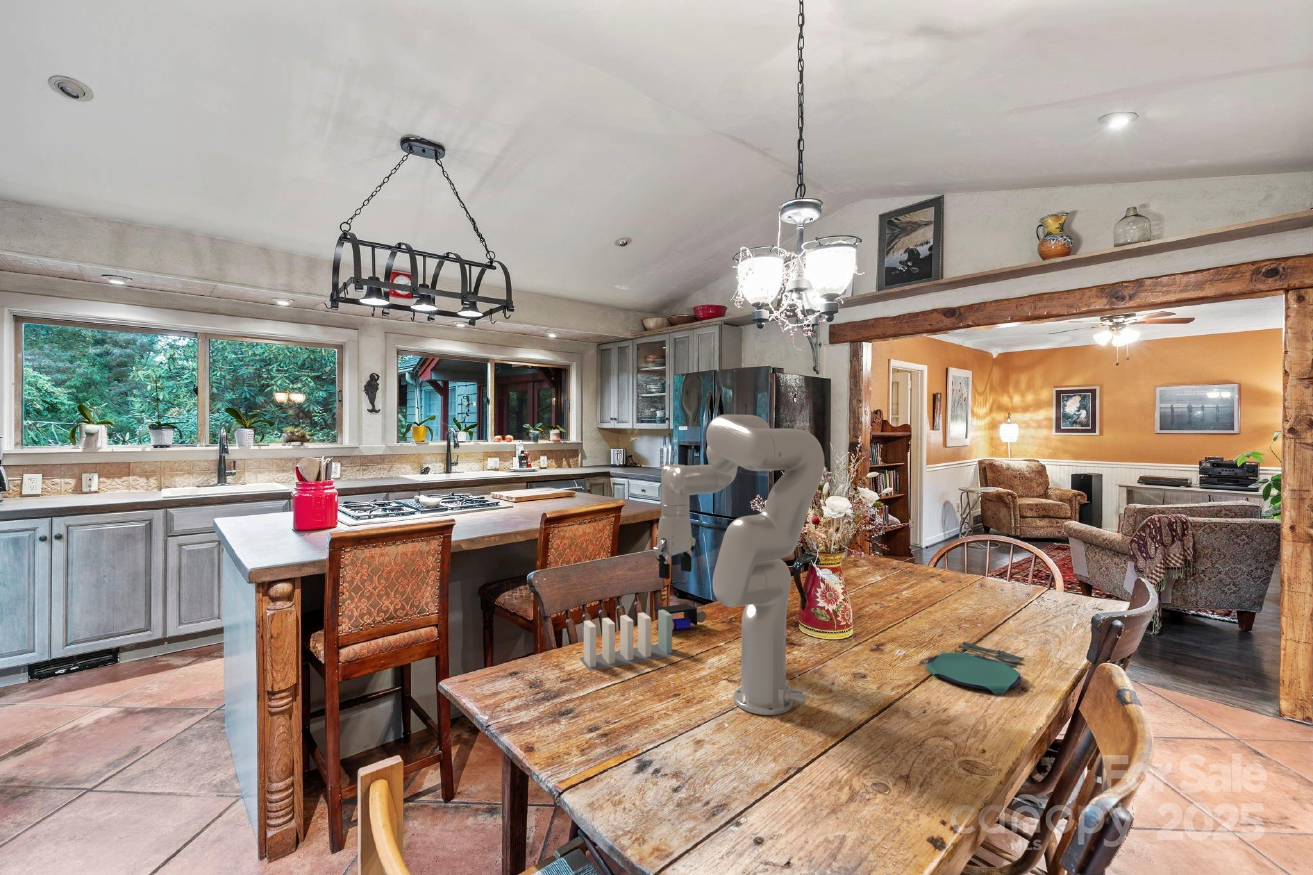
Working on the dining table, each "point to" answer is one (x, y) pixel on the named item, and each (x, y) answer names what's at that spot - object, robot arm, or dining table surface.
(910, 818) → the dining table surface
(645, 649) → the ivory tile
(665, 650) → the tile
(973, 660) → the cutlery set
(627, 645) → the ivory tile
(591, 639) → the ivory tile
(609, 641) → the ivory tile
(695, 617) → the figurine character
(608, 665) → the mat
